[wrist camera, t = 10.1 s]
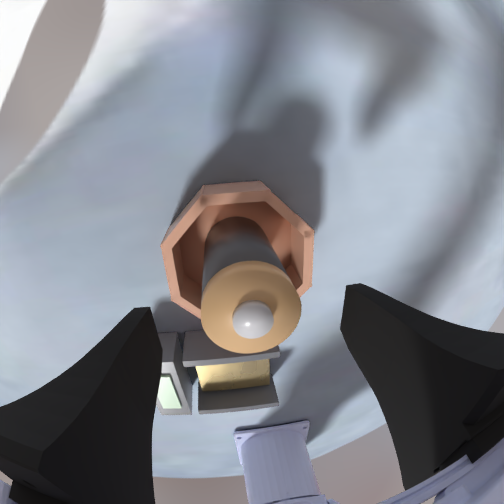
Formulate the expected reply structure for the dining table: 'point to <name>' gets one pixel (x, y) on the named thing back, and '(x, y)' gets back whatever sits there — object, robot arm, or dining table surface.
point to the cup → (224, 206)
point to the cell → (245, 289)
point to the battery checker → (180, 387)
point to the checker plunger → (234, 375)
